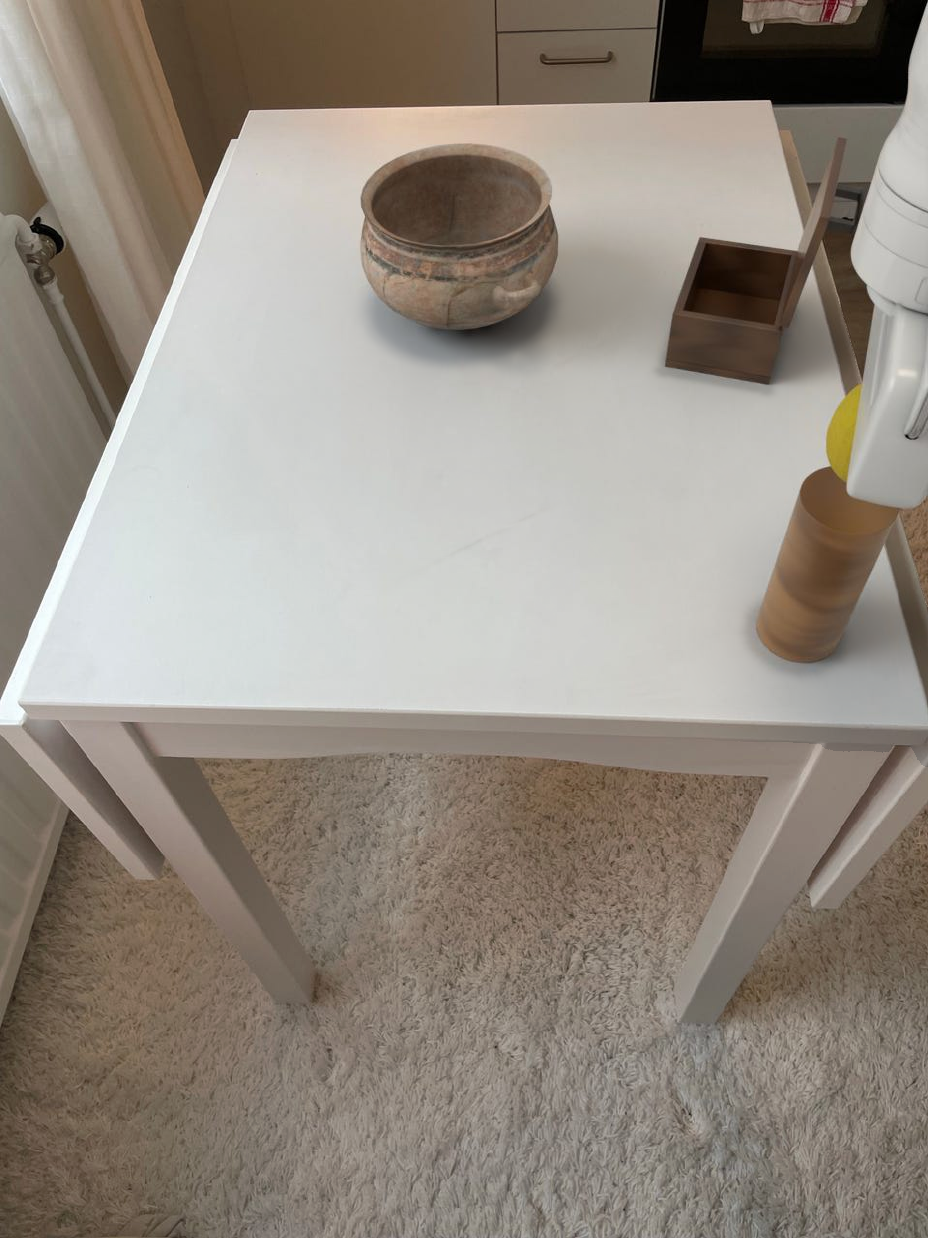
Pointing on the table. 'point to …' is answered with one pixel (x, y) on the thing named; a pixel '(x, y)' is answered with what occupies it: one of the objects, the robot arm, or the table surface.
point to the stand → (821, 568)
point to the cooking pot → (458, 234)
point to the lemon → (843, 433)
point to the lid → (822, 226)
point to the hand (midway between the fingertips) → (869, 447)
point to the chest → (731, 310)
